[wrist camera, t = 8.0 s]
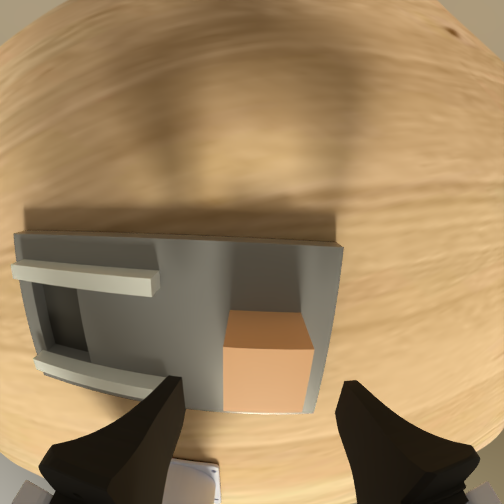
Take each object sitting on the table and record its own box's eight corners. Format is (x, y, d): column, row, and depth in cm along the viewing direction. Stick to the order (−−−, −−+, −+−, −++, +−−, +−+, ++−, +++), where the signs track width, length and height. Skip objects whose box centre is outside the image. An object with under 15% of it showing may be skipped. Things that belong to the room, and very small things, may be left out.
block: (293, 369, 17) (302, 412, 13) (228, 367, 17) (223, 410, 13) (300, 312, 16) (314, 349, 12) (229, 309, 16) (223, 346, 12)
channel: (310, 400, 19) (317, 427, 16) (52, 366, 19) (35, 383, 16) (336, 242, 16) (352, 253, 13) (26, 230, 16) (0, 237, 13)
